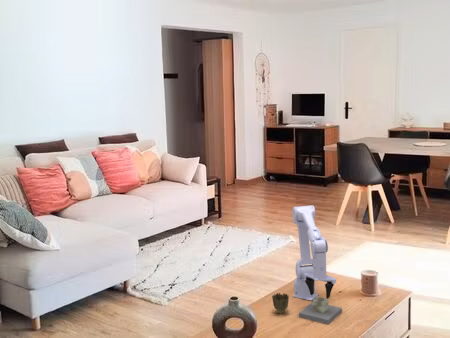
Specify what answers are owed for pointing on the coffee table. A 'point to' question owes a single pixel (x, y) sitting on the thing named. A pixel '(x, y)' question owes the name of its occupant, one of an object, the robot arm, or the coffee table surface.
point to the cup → (280, 302)
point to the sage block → (320, 304)
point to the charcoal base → (320, 314)
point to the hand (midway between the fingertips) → (320, 296)
